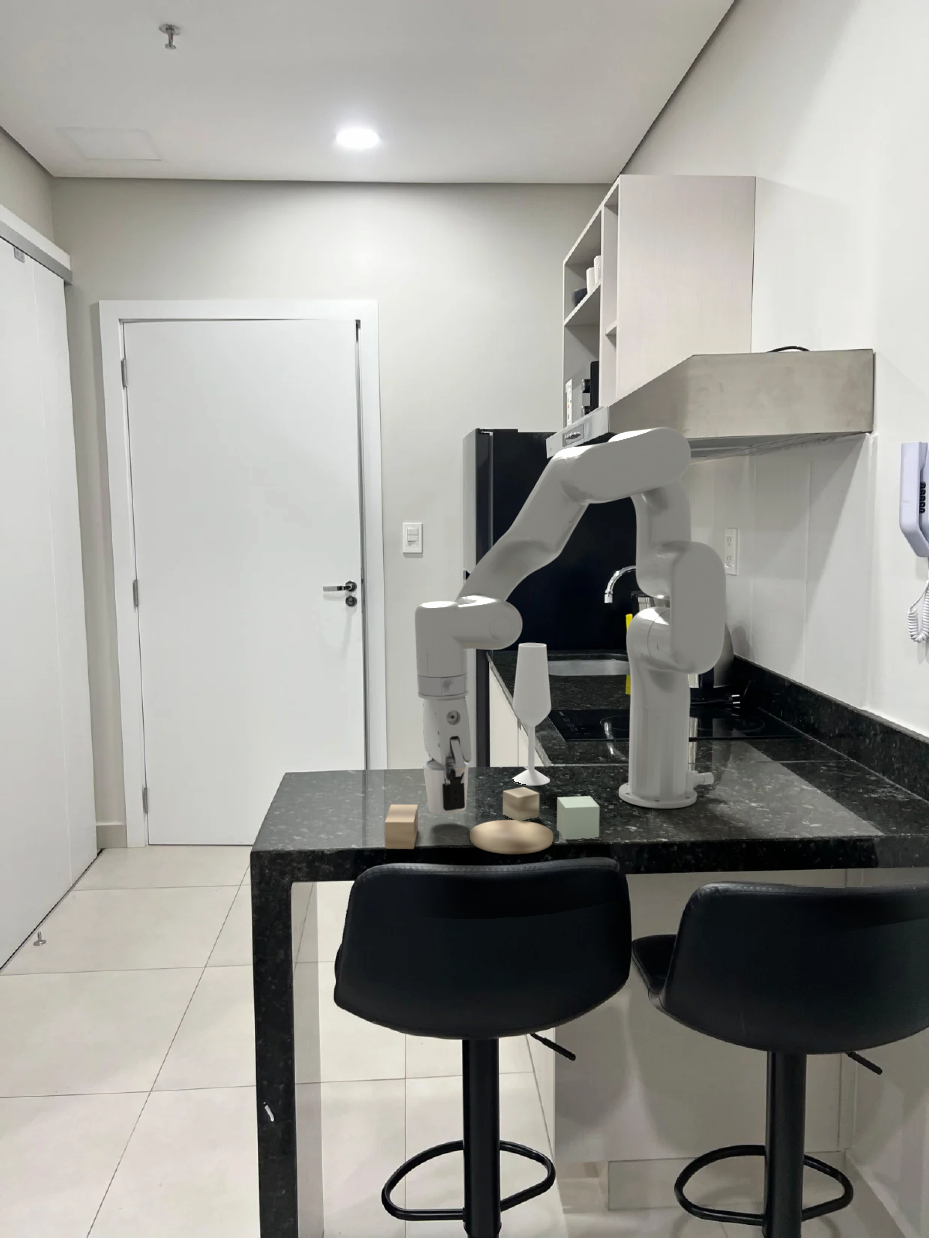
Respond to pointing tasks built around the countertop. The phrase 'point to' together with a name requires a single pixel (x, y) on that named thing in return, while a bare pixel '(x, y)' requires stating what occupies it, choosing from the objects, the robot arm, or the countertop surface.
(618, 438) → the robot arm
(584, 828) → the sage painted cube
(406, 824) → the oak brick
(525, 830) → the cork trivet
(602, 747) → the countertop surface
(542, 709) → the champagne flute
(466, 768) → the shot glass
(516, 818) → the birch cube
